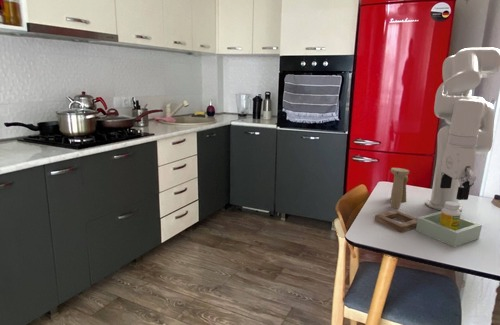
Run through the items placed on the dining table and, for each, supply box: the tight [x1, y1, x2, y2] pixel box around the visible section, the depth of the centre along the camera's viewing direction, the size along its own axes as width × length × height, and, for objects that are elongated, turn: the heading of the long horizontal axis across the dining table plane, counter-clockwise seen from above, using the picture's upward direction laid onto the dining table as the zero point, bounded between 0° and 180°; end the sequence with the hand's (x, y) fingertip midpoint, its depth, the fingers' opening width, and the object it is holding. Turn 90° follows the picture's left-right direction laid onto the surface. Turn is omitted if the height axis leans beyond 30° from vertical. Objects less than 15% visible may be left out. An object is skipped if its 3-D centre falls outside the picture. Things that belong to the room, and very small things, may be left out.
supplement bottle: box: [439, 201, 462, 231], centre depth 112 cm, size 5×5×10 cm
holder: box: [374, 209, 418, 233], centre depth 121 cm, size 11×11×2 cm
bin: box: [415, 210, 482, 248], centre depth 113 cm, size 13×13×4 cm
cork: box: [401, 175, 409, 204], centre depth 143 cm, size 6×6×11 cm
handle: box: [390, 167, 410, 209], centre depth 134 cm, size 5×6×15 cm
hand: (453, 193), depth 111 cm, fingers open, 9 cm apart
